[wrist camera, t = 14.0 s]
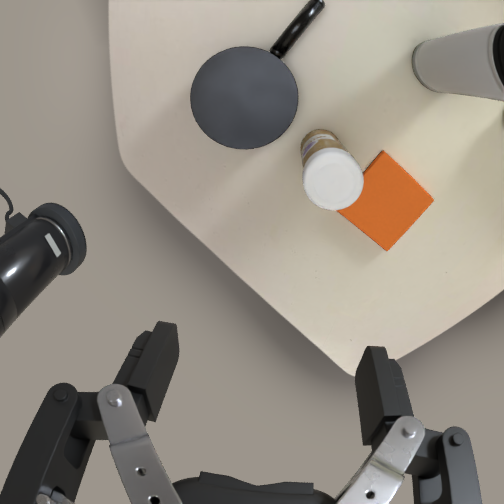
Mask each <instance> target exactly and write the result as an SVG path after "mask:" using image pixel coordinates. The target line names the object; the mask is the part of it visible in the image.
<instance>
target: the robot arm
mask: <svg viewBox="0 0 504 504" xmlns="http://www.w3.org/2000/svg"><path fill="white" fill-rule="evenodd" d="M0 194H1V195H2V196H3V197H4V198H5V199H6V201H7V202H8V205H9V209H10V210H9V211H8V212H7V213H6V215H5V220H6V227H5V235H3V236H2V237H0V337H1V336H2V335H3V334H4V333H5V331H6V330H7V329H8V328H9V327H10V326H11V325H12V323H13V322H14V321H15V320H16V319H17V318H18V316H19V315H20V314H21V313H22V312H23V311H24V310H25V309H26V308H27V307H28V306H29V305H30V304H31V302H32V301H33V300H34V299H35V298H36V297H37V296H38V295H39V294H40V293H41V292H42V291H43V290H44V289H45V288H46V287H47V286H48V285H49V284H50V283H51V282H52V281H53V280H54V279H55V278H56V277H57V275H59V274H60V273H61V272H62V271H63V270H65V269H66V268H67V267H68V266H69V265H70V263H71V261H72V258H73V248H72V244H71V241H70V238H69V236H68V234H67V233H66V231H65V229H64V228H63V227H62V226H61V225H60V224H59V223H58V222H57V221H56V220H54V219H53V218H51V217H48V216H38V215H36V214H33V215H32V216H30V217H29V218H26V217H24V216H23V215H22V214H21V213H20V212H19V213H17V214H16V215H14V216H13V217H11V218H10V219H9V215H10V214H11V213H12V212H13V205H12V202H11V200H10V198H9V197H8V195H7V194H6V193H5V192H4V191H3V190H2V189H0ZM178 357H179V343H178V333H177V325H176V324H174V323H168V322H162V321H158V322H157V324H156V326H155V328H154V330H153V332H150V331H144V332H143V333H142V334H141V335H140V336H138V337H137V338H136V340H135V342H134V344H133V346H132V349H130V351H129V353H128V356H127V357H126V359H125V361H124V363H123V365H122V367H121V369H120V371H119V372H118V374H117V376H116V378H115V380H114V382H113V383H112V384H110V385H107V386H105V387H104V388H102V389H101V390H100V391H99V392H77V390H76V388H75V387H74V386H72V385H71V384H68V383H59V384H56V385H54V386H53V387H52V388H50V390H49V391H48V393H47V395H46V397H45V398H44V400H43V402H42V404H41V406H40V408H39V410H38V412H37V414H36V416H35V418H34V420H33V422H32V424H31V426H30V428H29V430H28V432H27V434H26V436H25V438H24V441H23V443H22V445H21V447H20V449H19V451H18V454H17V456H16V458H15V460H14V463H13V465H12V467H11V470H10V472H9V474H8V477H7V479H6V481H5V484H4V487H3V490H2V491H1V494H0V504H75V503H74V502H75V499H76V495H77V492H78V489H79V486H80V483H81V480H82V477H83V474H84V471H85V468H86V465H87V463H88V460H89V457H90V454H91V452H92V448H93V446H94V443H95V441H96V440H109V442H110V445H109V447H110V451H111V454H112V457H113V459H114V462H115V465H116V468H117V470H118V473H119V475H120V477H121V481H122V483H123V485H124V488H125V490H126V493H127V495H128V497H129V499H130V502H131V504H389V503H390V501H391V500H392V498H393V497H394V495H395V493H396V492H397V490H398V489H399V487H400V485H401V484H402V482H403V480H404V476H403V475H404V473H407V474H411V475H412V480H413V495H414V504H482V500H481V493H480V487H479V481H478V475H477V470H476V465H475V460H474V455H473V450H472V446H471V442H470V438H469V435H468V434H467V432H466V431H465V430H463V429H462V428H460V427H450V428H448V429H447V430H446V431H445V432H444V433H442V432H437V431H433V430H429V429H426V428H424V426H423V424H422V422H421V421H420V420H418V419H417V418H415V417H414V415H413V411H412V407H411V403H410V399H409V395H408V392H407V388H406V384H405V381H404V378H403V373H402V370H401V367H400V366H399V365H398V363H397V362H396V361H395V359H388V355H387V351H386V348H385V347H379V346H367V347H366V349H365V351H364V354H363V356H362V358H361V361H360V363H359V365H358V368H357V370H356V375H355V385H356V392H357V399H358V407H359V415H360V422H361V432H362V440H363V445H371V446H372V452H371V453H370V454H369V456H368V457H367V459H366V460H365V461H364V463H363V464H362V466H361V467H360V468H359V469H358V471H357V472H356V473H355V475H354V476H353V477H352V478H351V480H350V481H349V482H348V483H347V485H346V486H345V487H344V488H343V489H342V490H341V491H340V493H339V494H338V495H337V496H336V497H335V498H332V497H331V496H329V495H328V494H326V493H323V492H321V491H318V490H315V489H313V483H299V482H282V483H275V484H268V485H260V486H256V485H252V484H249V483H246V482H243V481H241V480H238V479H235V478H233V477H230V476H226V475H219V474H213V473H208V472H202V471H201V472H200V476H199V477H193V478H187V479H183V480H180V481H177V482H175V483H171V481H170V479H169V477H168V475H167V473H166V471H165V469H164V467H163V465H162V463H161V461H160V459H159V457H158V455H157V453H156V451H155V448H154V446H153V444H152V442H151V439H150V437H149V435H148V433H147V431H146V429H145V426H146V423H147V420H149V421H154V422H156V419H157V416H158V413H159V411H160V408H161V405H162V402H163V400H164V397H165V394H166V392H167V389H168V386H169V383H170V381H171V378H172V375H173V372H174V370H175V367H176V365H177V362H178Z"/></svg>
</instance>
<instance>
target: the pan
mask: <svg viewBox="0 0 504 504" xmlns="http://www.w3.org/2000/svg"><path fill="white" fill-rule="evenodd" d="M324 6H325V3H324V1H323V0H310V1H309V2H308V3H307V4H306V5H305V7H304V8H303V9H302V10H301V11H300V12H299V14H298V15H297V16H296V17H295V18H294V20H293V21H292V22H291V23H290V25H289V26H288V27H287V28H286V30H285V31H284V32H283V33H282V35H281V36H280V37H279V38H278V40H277V41H276V42H275V43H274V45H273V46H272V47H271V49H270V52H268V51H265V50H263V49H259V48H255V47H234V48H230V49H226V50H224V51H221V52H219V53H217V54H216V55H214V56H212V57H211V58H210V59H209V60H207V61H206V62H205V63H204V64H203V66H202V67H201V68H200V69H199V71H198V73H197V74H196V76H195V78H194V81H193V84H192V88H191V95H190V101H191V109H192V112H193V115H194V118H195V120H196V122H197V123H198V125H199V127H200V128H201V129H202V130H203V132H204V133H205V134H206V135H207V136H209V137H210V138H211V139H213V140H214V141H216V142H217V143H219V144H222V145H224V146H227V147H230V148H235V149H254V148H258V147H262V146H264V145H267V144H269V143H271V142H273V141H274V140H276V139H277V138H279V137H280V136H281V135H282V134H283V133H284V132H285V131H286V130H287V129H288V127H289V126H290V124H291V123H292V121H293V119H294V117H295V114H296V111H297V106H298V89H297V85H296V82H295V79H294V77H293V75H292V73H291V71H290V70H289V68H288V67H287V66H286V65H285V64H284V63H283V62H282V61H281V60H280V59H282V58H283V57H284V56H285V55H286V54H287V52H288V51H289V50H290V48H291V47H292V46H293V45H294V43H295V42H296V41H297V40H298V38H299V37H300V36H301V35H302V33H303V32H304V31H305V30H306V29H307V27H308V26H309V25H310V24H311V23H312V21H313V20H314V19H315V18H316V17H317V15H318V14H319V13H320V12H321V11H322V9H323V8H324Z"/></svg>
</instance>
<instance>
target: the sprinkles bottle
mask: <svg viewBox="0 0 504 504" xmlns="http://www.w3.org/2000/svg"><path fill="white" fill-rule="evenodd" d="M301 155H302V164H303V175H302V178H303V186H304V190H305V192H306V194H307V196H308V198H309V199H310V200H311V201H312V202H313V203H314V204H315V205H317V206H318V207H320V208H323V209H326V210H341V209H344V208H346V207H349V206H350V205H352V204H353V203H354V202H355V201H356V200H357V199H358V197H359V196H360V194H361V192H362V189H363V184H364V177H363V173H362V170H361V168H360V166H359V164H358V163H357V161H356V160H355V159H354V157H353V156H352V155H351V154H349V153H348V151H347V150H346V149H345V147H344V146H343V145H342V144H341V143H340V141H338V139H337V137H336V136H335V135H334V134H333V133H331V132H329V131H327V130H320V129H318V130H314V131H312V132H310V133H308V134H307V135H306V136H305V137H304V138H303V140H302V143H301Z"/></svg>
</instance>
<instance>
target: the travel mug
mask: <svg viewBox="0 0 504 504" xmlns="http://www.w3.org/2000/svg"><path fill="white" fill-rule="evenodd" d="M412 65H413V69H414V72H415V75H416V77H417V78H418V80H419V81H420V82H421V83H422V84H423V85H424V86H425V87H426V88H428V89H430V90H432V91H435V92H443V93H452V94H460V95H468V96H475V97H482V98H488V99H494V100H499V101H504V23H501V24H496V25H490V26H485V27H481V28H476V29H471V30H467V31H463V32H459V33H455V34H451V35H447V36H443V37H440V38H436V39H432V40H429V41H426V42H423V43H421V44H420V45H418V46H417V48H416V49H415V51H414V53H413V57H412Z"/></svg>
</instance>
